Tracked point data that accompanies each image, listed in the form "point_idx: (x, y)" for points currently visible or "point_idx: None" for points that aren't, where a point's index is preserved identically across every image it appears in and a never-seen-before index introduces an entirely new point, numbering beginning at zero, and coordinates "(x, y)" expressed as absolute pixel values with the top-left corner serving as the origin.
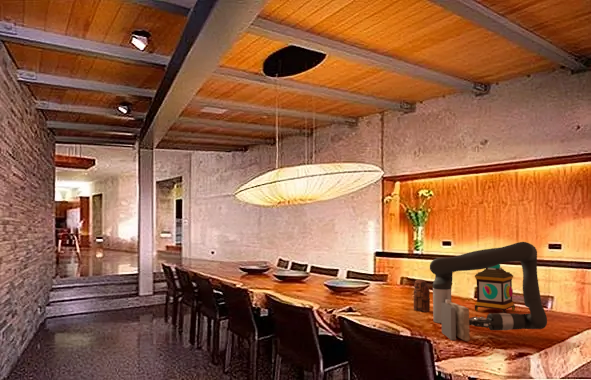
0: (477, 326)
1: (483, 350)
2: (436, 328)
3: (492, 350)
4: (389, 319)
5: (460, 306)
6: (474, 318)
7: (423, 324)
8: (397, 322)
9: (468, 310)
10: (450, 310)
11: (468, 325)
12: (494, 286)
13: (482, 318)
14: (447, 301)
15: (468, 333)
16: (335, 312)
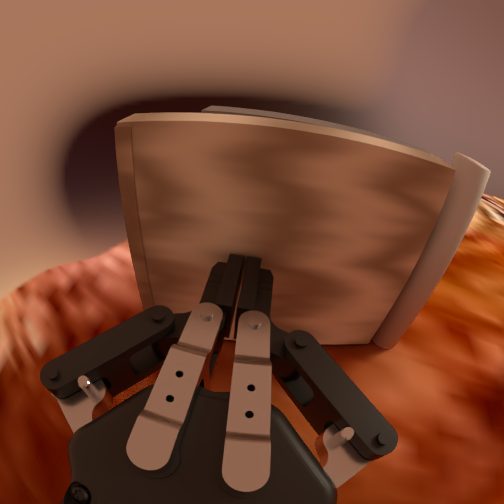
0: (142, 350)
1: (23, 291)
2: (439, 313)
3: (3, 319)
4: (487, 243)
5: (229, 116)
6: (258, 360)
7: (480, 294)
8: (467, 244)
9: (116, 140)
10: None
11: (133, 254)
12: None
13: (175, 421)
14: (453, 160)
15: (144, 296)
16: (483, 200)
